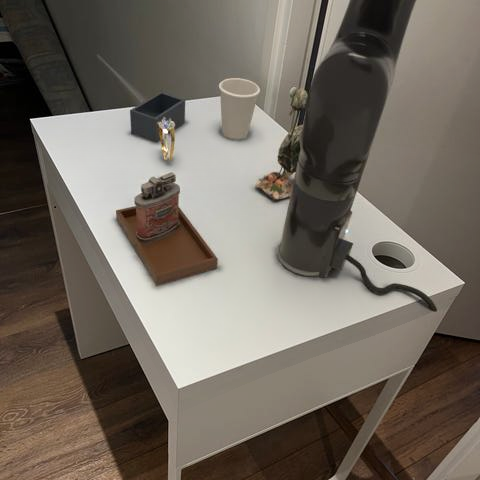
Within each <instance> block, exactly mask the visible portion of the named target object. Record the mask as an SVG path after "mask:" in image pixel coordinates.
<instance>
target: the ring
mask: <svg viewBox="0 0 480 480" xmlns="http://www.w3.org/2000/svg"><path fill="white" fill-rule="evenodd" d="M174 127H175V123H174V122H173V121H171V119H169V121H166V120H165V117H163V120H162V122H158V130H159V136H160V141H159V142H160V147H161V149H162V150H161V152H162V155H163V160H165V161H171V160H172V159H173V155H174V151H175V142H176V134H175V133H176V132H175V130H174ZM161 129H162V131H161ZM169 130H170V133H169V134H170V135H169V134H168V132H167V131H169ZM166 144H167V145H166Z"/></svg>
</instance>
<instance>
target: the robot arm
mask: <svg viewBox="0 0 480 480" xmlns="http://www.w3.org/2000/svg"><path fill="white" fill-rule="evenodd" d="M416 2H417V0H349V2H348V3H347V7H346V10H345V12H344V15H343V18H342V20H341V22H340V25H339V28H338V30H337V33H336V34H335V37H334V39H333V41H332V43H331V45H330V47H329V49H328V50H327V52H326V53H325V55H324V56H323V58H322V60H321V61H320V63H319V64H318V66H317V68H316V70H315V71H314V73H313V77H312V80H311V84H310V87H309V92H308V97H307V101H306V105H305V111H304V116H303V122H302V123H303V124H302V125H303V127H302V132H301V138H300V148H301V149H300V154H299V159H298V163H297V168H296V172H294V178H293V187H292V191H291V196H290V195H289V201H288V206H287V211H286V216H285V220H284V225H283V229H282V234H281V239H280V243H279V246H278V249H277V250H278V251H277V257H278V260H279V262H280V263H281V265H282V266H284V267H285V268H286V269H287V270H289V271H290V272H292V273H295V274H297V275H300V276H304V277H321V278H323V279H324V278H327V276H328V275H329V273H330V272H331V270H332V269H335V270H338V271H341V270H342V268H343V267H344V265H345V263H346V261H347V262H348V263H350V264H351V265H353V266H354V267H355V268H356V269H357V270H358V271H359V273H360V278H361V280H362V281H363V282H364V284H365V286H366V287H367V289H369V290H370V291H372V292H373V293H376V294H379V295H382V294H386V293H388V292H390V291H392V290H399V291H402V292H403V291H404V292H407V293H411V294H413V295H415V296H416V297H418V298H420V299H421V300H422V301H424V303H425V304H426V305H427V306H428V308H429V310H430V311H432V312H434V313H436V312H438V309H437V306H436V304H435V302H434V301H433V299H431V297H429V296H428V295H427V294H426V293H425V292H423V291H421V290H420V289H418V288H416V287H414V286H413V287H412V286H410V285H407V284H402V283H397V282H396V283H390V284H388V285H386V286H384V287H378V286H376V285H375V284H373V283H372V281H371V280H370V279H369V277H368V274H367V271H366V268H365V267H364V265H362V263H360V261H358V260H357V259H356V258H354V257H352V255H350V254H351V251H352V250H353V246H354V242H351V241H349V240H346V239H345V237H346V236H345V235H346V234H347V233H348V232H349V230H348V227H349V224H350V221H351V218H352V215H353V210H352V207H353V204H354V201H355V199H356V195H357V192H358V189H359V185H360V183H361V180H362V177H363V174H364V171H365V168H366V165H367V162H368V159H369V156H370V153H371V149H372V146H373V144H374V141H375V138H376V135H377V131H378V128H379V125H380V122H381V119H382V116H383V114H384V111H385V107H386V104H387V101H388V97H389V94H390V91H391V88H392V85H393V83H394V79H395V74H396V69H397V64H398V60H399V57H400V53H401V50H402V45H403V42H404V40H405V36H406V32H407V30H408V26H409V23H410V20H411V16H412V13H413V12H414V11H413V10H414V8H415V5H416Z"/></svg>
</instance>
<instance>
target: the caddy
mask: <svg viewBox="0 0 480 480" xmlns="http://www.w3.org/2000/svg"><path fill="white" fill-rule="evenodd" d="M163 117H165V120H166V121H169V119H171V121H173V122H174V123H175V127H174V131H175V130H176V129H178V128H179V127H181V126H182V125H183V124H184V123H185V122H186V100H185V99H184V98H181V97H178V96H174V95H172V94H169V93H166V92H163V91H159V92H157V93H156V94H154V95H152V96H150V97H149V98H148V99H145V100H144V101H143V102H141V103H139V104H138V105H136V106H134V107H133V108H131V109H129V121H130V133H131V135H135V136H137V137H139V138H142V139H145V140H147V141H150V142H153V143H156V144H157V143H158V142H161V141H160V136H159V130H158V122H162V120H163ZM161 131H162V129H161ZM167 132H168V135H169V134H171V133H170V130H169V131H167Z"/></svg>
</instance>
